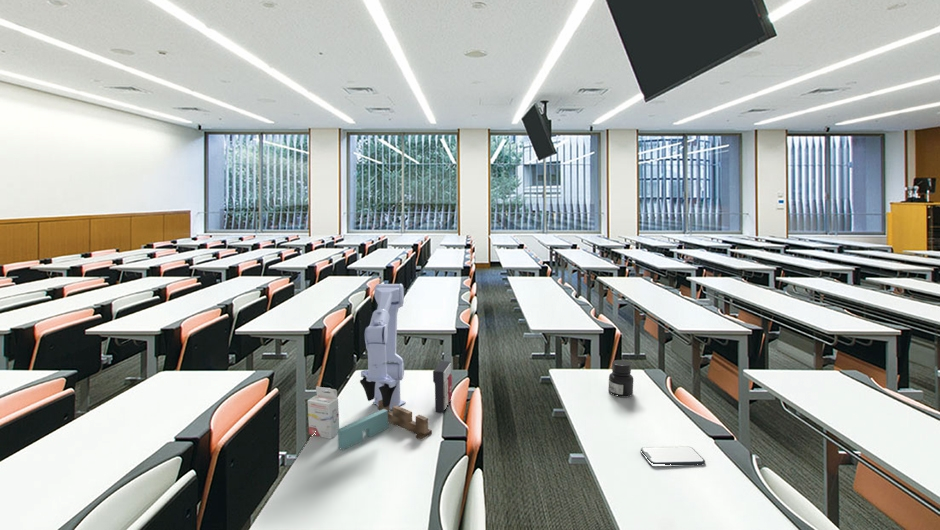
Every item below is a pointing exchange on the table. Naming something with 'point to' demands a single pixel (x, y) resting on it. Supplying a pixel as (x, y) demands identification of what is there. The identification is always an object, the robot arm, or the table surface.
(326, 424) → the ink cartridge box
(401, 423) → the walnut stand
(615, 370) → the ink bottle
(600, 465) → the table surface
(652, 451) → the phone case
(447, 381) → the dark grey box
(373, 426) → the teal plate
